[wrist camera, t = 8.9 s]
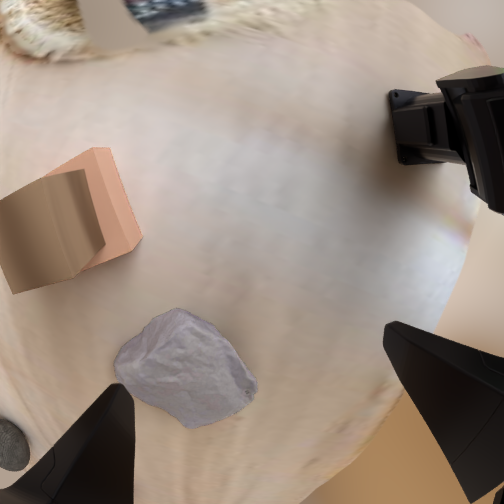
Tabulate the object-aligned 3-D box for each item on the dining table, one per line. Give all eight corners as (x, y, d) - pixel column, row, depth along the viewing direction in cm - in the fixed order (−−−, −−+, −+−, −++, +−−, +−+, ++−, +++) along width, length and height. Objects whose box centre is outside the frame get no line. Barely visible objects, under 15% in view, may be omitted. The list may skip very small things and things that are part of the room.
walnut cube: (84, 168, 14) (40, 178, 9) (106, 244, 16) (73, 278, 11) (28, 193, 13) (-17, 211, 9) (50, 261, 15) (12, 294, 11)
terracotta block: (111, 147, 17) (92, 147, 14) (144, 235, 19) (131, 251, 16) (42, 186, 17) (18, 194, 13) (74, 264, 19) (55, 282, 16)
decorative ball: (15, 413, 24) (-4, 457, 15) (45, 447, 28) (33, 487, 18) (-16, 402, 23) (-35, 439, 14) (12, 436, 27) (-1, 471, 17)
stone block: (182, 285, 23) (108, 352, 22) (188, 309, 18) (102, 384, 18) (261, 359, 27) (194, 411, 27) (279, 387, 23) (202, 442, 22)
